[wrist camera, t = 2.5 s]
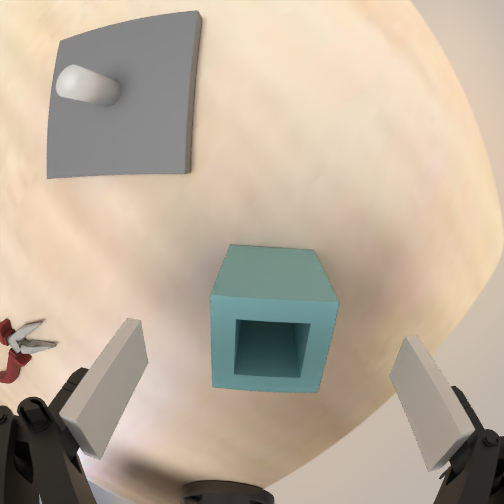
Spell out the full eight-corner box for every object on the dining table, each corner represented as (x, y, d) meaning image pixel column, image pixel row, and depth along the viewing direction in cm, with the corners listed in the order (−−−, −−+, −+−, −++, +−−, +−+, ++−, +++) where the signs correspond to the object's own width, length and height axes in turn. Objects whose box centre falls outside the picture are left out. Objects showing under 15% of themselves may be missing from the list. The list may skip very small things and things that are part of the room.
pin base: (190, 172, 19) (156, 180, 13) (57, 176, 20) (4, 188, 14) (202, 18, 16) (179, -26, 9) (69, 45, 16) (22, 26, 10)
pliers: (82, 371, 27) (71, 386, 24) (7, 377, 30) (-2, 386, 27) (29, 279, 24) (13, 289, 21) (-31, 312, 27) (-42, 319, 24)
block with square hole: (303, 321, 23) (317, 392, 15) (228, 317, 23) (212, 387, 15) (313, 250, 21) (339, 302, 13) (230, 244, 21) (210, 294, 13)
